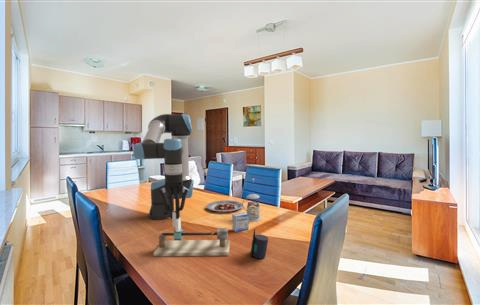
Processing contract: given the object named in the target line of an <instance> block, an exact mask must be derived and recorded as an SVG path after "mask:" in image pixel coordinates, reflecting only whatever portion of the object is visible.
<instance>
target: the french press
mask: <svg viewBox="0 0 480 305" xmlns="http://www.w3.org/2000/svg"><path fill="white" fill-rule="evenodd" d="M251 181H252V182H254V181H256V180H255V178H251ZM257 199H260V195H259V194H256V193H250V194H248V195H247V196H246V198H244V200H242V202H241V203H242V206H243V207H242V209H244V210H245V211H246V213H247V214H248V219H249V222H259V221H261V220H262V217H261V216H260V214H261V213H260V212H261V206H260V202H258V201H254V200H257ZM248 200H252V201H249V202H248ZM245 201H247V205H246V208H245V206H244V202H245Z"/></svg>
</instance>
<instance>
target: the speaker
mask: <svg viewBox="0 0 480 305" xmlns="http://www.w3.org/2000/svg"><path fill="white" fill-rule="evenodd" d="M268 242H269V237H268V236H267V235H264V234H256V229H255V228H254V229H253V235H252V242H251V247H250V248H251V249H250V258H253V257H254V258H256V259H260V260H262V259H266V257H267V256H266V255H267V254H266V253H267V250H268Z"/></svg>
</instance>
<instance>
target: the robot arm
mask: <svg viewBox="0 0 480 305" xmlns="http://www.w3.org/2000/svg"><path fill="white" fill-rule="evenodd" d="M147 129H148V130H147V132H146V134H145V136H144V138H143V140H142V142H138V143H134V144H133V148H132V153H133V156H134V158H135V159H136V160H153V159H158V160H159V159H161V160H164V163H163V164H164V173H165V174H164V178H160V179H156V180H154V181H153V180H152V182H150V183H151V184H150V199H151V201H150V202H151V204H150V209H149V212H148V217H149V219H151V220H164V219H168V218H170V219H171V220H172V227H173V228H176V224H175V221H176V219H179V217H181V216H180V215H181V214H180V211H183V209H184V207H185V203H186V199H191V198H192V197H193V192H194V183H195V180H193V179H192V176H190V171H189V170H190V167H189V165H190V164H189V160H190V158H189V138H190V137H191V134H193V126H192V120H191V116H190V115H189V114H186V113H185V114H184V113H169V114H168V113H164V114H163V113H162V114H160V115H158V116H155V117H154V118H152V119H151V120H150V121H149V123H148V125H147ZM164 134H171V137H172V138H164V140H163V142H160V140H161V137H162V135H164Z"/></svg>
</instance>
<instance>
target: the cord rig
mask: <svg viewBox="0 0 480 305" xmlns="http://www.w3.org/2000/svg"><path fill="white" fill-rule="evenodd" d="M169 236H172V237H174V232H161V233H159V235H158V247H157V248H155V250H154V251H153V257H186V256H187V257H190V256H191V257H201V256H203V257H205V256H206V257H210V256H211V257H212V256H215V257H217V256H221V257H222V256H227V257H228V256H229V255H230V245H231V240H230V239H228V236H229V235H228V228H226V227H225V228H221V227H219V228H217V230H216V232H215V231H212V232H211V231H210V232H183V233H181V236H183V237H186V236H193V237H194V236H216V239H181V240H176V241H174V239H173V240H172V239H170V240H167V237H169Z"/></svg>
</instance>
